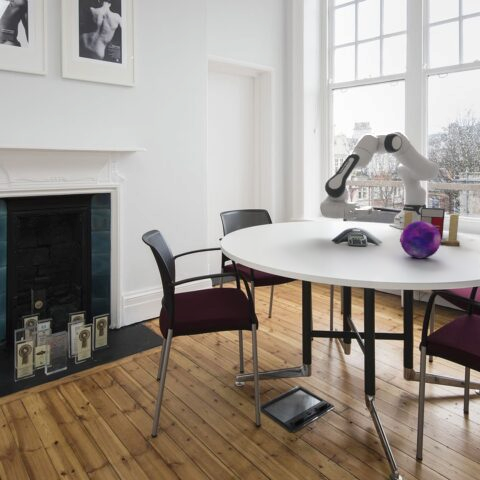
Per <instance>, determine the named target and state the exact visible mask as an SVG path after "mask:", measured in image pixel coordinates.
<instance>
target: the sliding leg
mask: <svg viewBox="0 0 480 480" xmlns="http://www.w3.org/2000/svg"><path fill="white" fill-rule="evenodd" d="M412 219H413V212H409V211H405V216H404V228H405V227H406V226H408V225H409V224H411V223H412Z"/></svg>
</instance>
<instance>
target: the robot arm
mask: <svg viewBox="0 0 480 480" xmlns="http://www.w3.org/2000/svg"><path fill="white" fill-rule="evenodd" d="M375 154H377V155H380V154H381V155H384V154H392V155H393V157H394V158H395V159H396V161H397V162H398V163H399V165H398V166H397V169H396V174H397V176H398V178H399V179H400V180H401V181H402V183H403V186H404V188H405V198H404V199H405V200H404V201H405V202H404V204H402V205H401V207H402V210H401V211H400V212H399V213H397V214H396V215H395V216H394V219H393V223H390V224H389V227H393V228H396V229H400V230H404V216H405V211H409V212H413V219H412V223H413V222H416V221H420V220H421V209H422V208H427V204H426V203H427V202H426V201H427V200H426V199H427V190H426V189H425V188H424V187H422V185H421V183H420V181H421V182H428V181H433V180H436V179H437V178H438V176H439V173H440V168H439V164H438V163H436V162H433V161H431V160H429V159H428V158H426V157H425V156H423V155H422V154H421V153H419V151H418V150H417V149H416V148H415V146H414V145H413V143H412V142H411V140H410V139H409V137H408V136H407V135H406V134H405V133H403V132H402V131H401V130H399V129H397V130H392V131H390V132H381V133H372V134H371V133H365V134H364V135H362V136H361V137H360V139H359V140H358V141H357V142H356V144H355V145H354V147H353V148H352V150H351V152H350V153H349V155H348V156H347V157H346V158H345V160H344V161H343V162H342V164H341V165H340V166H339V168H338V170H337V171H336V172H335V174H333V176H331V177H330V178H329V179H328V180H327V181H326V182H325V185H324V189H325V190H324V191H325V192H326V193H327V197H326V198H325V199H324V200H323V201H322V202H320V208H319V209H320V213H321V215H322V216H323V217H325V218H328V219H335V220H337V219H343V220H352V221H355V220H356V219H357V218H368V217H370V216H371V215H373V216H374V215H381V213H382V212H381V209H380V210H378V209H374V206H371V205H363V204H360V203H359V204H358V203H357V202H355V201H354V202H353V201H352V202H351V201H349V191H348V189H347V180H348V179H349V177H350V175H351V174H352V172H354V170H355V169H357V170H363V169H366V167H367V166H368V165H369V164H370V163H371V161H372V159H373V157H374V155H375Z"/></svg>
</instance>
